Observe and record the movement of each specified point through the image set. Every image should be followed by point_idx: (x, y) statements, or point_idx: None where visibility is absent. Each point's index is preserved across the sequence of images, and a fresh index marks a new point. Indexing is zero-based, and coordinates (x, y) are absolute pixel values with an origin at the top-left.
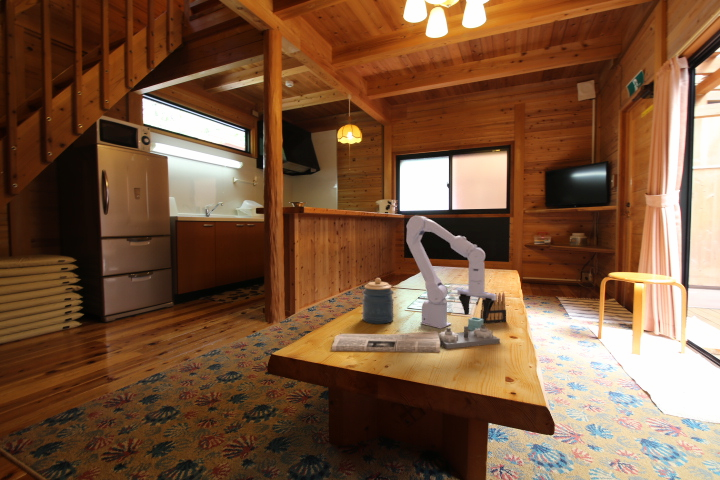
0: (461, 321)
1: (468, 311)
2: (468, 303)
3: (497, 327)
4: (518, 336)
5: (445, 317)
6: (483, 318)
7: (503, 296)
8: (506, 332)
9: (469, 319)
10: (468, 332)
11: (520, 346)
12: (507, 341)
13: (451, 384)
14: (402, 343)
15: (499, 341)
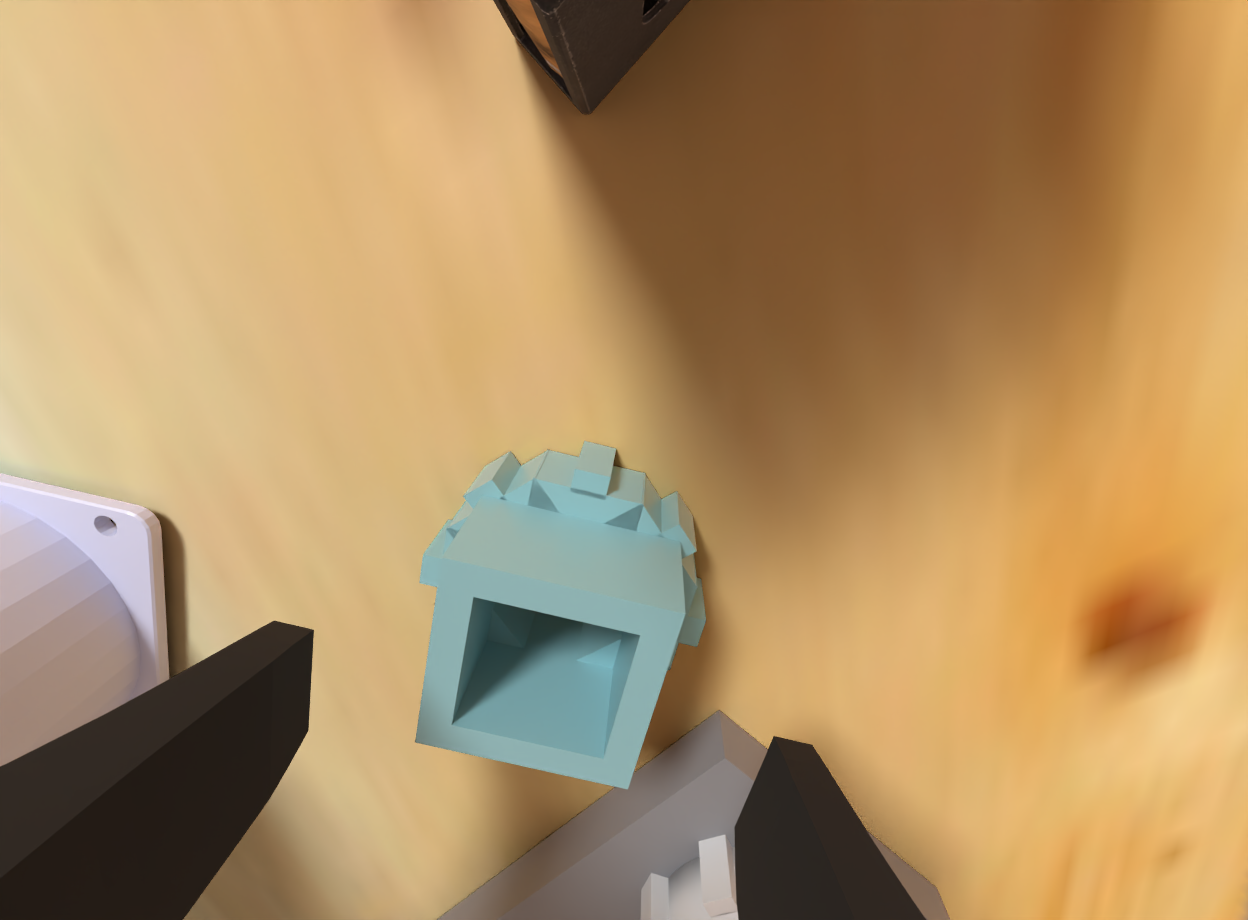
0: (183, 213)
1: (273, 691)
2: (38, 915)
3: (904, 239)
4: (1230, 566)
5: (24, 754)
6: (586, 73)
7: None
8: (1057, 463)
9: (441, 747)
10: (564, 898)
11: (1168, 882)
12: (1032, 805)
13: None
14: None
15: (943, 913)
